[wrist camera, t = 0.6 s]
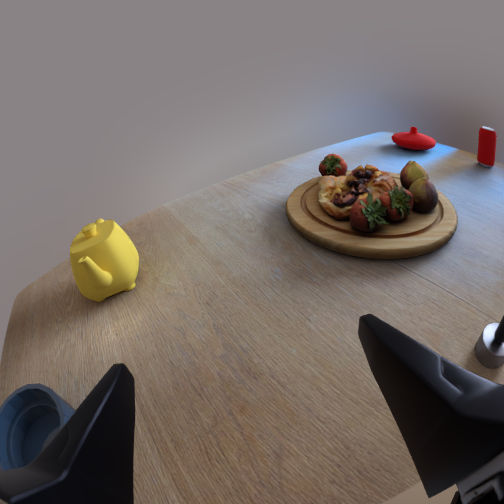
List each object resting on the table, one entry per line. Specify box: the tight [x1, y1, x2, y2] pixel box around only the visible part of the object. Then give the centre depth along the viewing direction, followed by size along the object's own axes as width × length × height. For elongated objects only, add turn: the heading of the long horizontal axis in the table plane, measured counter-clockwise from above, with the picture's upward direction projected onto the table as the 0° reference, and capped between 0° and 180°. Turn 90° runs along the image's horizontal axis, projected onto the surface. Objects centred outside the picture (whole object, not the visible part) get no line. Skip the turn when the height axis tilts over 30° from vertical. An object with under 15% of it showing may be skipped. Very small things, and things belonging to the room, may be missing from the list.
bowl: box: [0, 384, 76, 471], centre depth 17 cm, size 12×13×5 cm
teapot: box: [70, 219, 139, 302], centre depth 39 cm, size 18×11×11 cm, turn 22°
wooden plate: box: [286, 154, 458, 259], centre depth 46 cm, size 32×32×8 cm
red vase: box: [392, 127, 436, 150], centre depth 76 cm, size 16×16×7 cm
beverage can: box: [477, 127, 497, 167], centre depth 58 cm, size 6×6×12 cm
